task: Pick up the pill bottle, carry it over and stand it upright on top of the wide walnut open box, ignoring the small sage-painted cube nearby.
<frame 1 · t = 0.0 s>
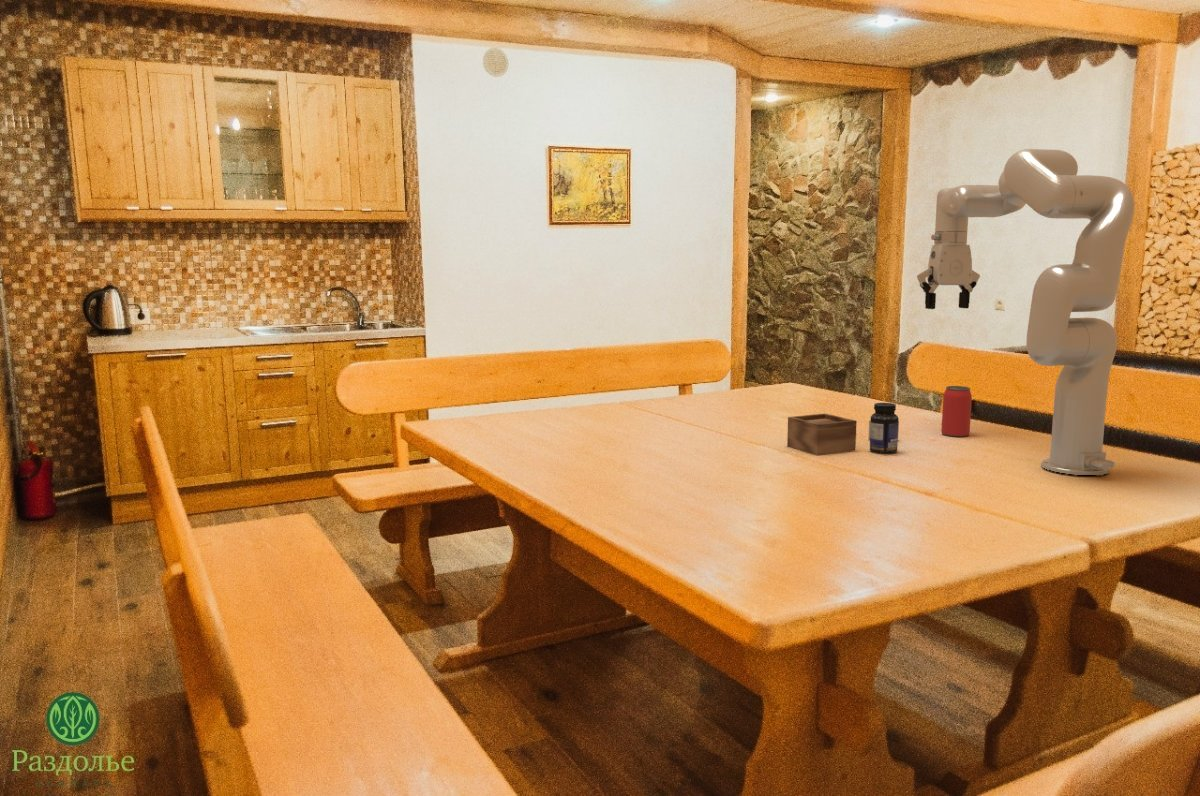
hand: (946, 308, 225), 31 cm above the table, fingers open, 9 cm apart
sage cube: (883, 440, 217), on the table
walnut open box: (820, 448, 209), on the table
beer can: (955, 435, 224), on the table
pill bottle: (883, 452, 205), on the table
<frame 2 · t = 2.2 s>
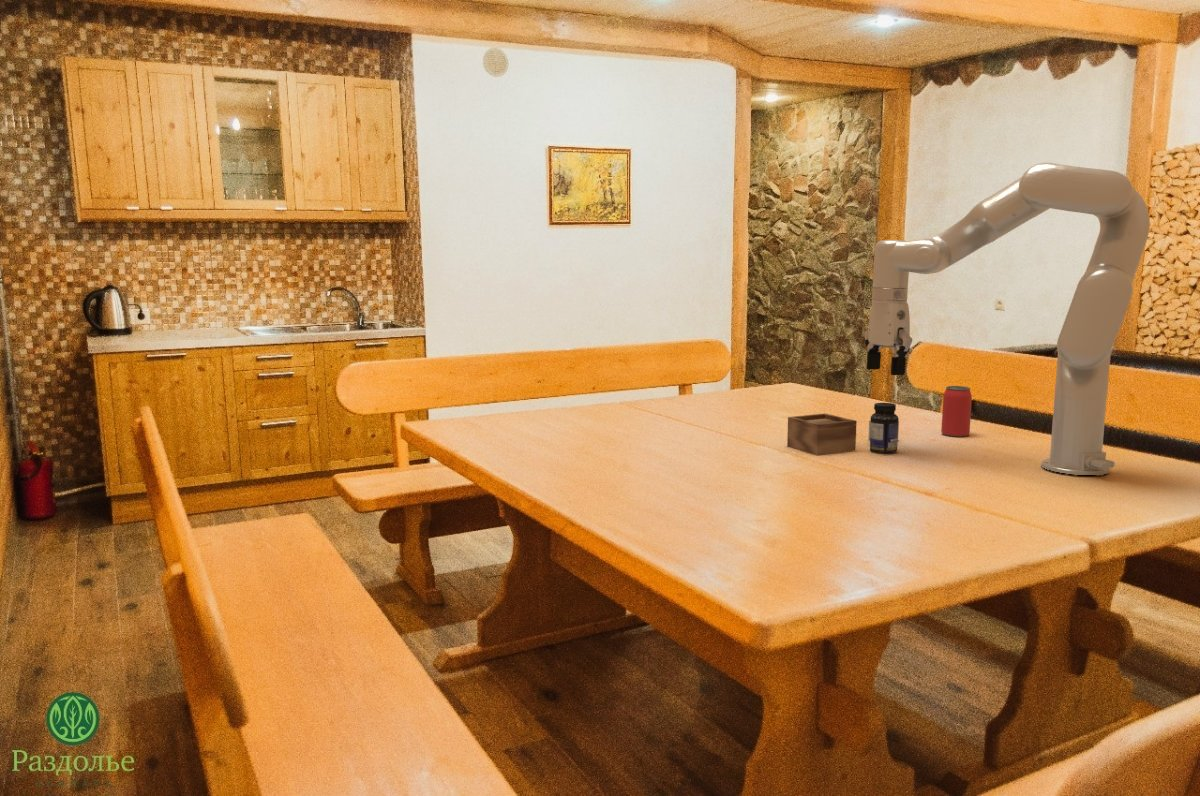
hand: (885, 371, 202), 18 cm above the table, fingers open, 9 cm apart
nothing on the table moved.
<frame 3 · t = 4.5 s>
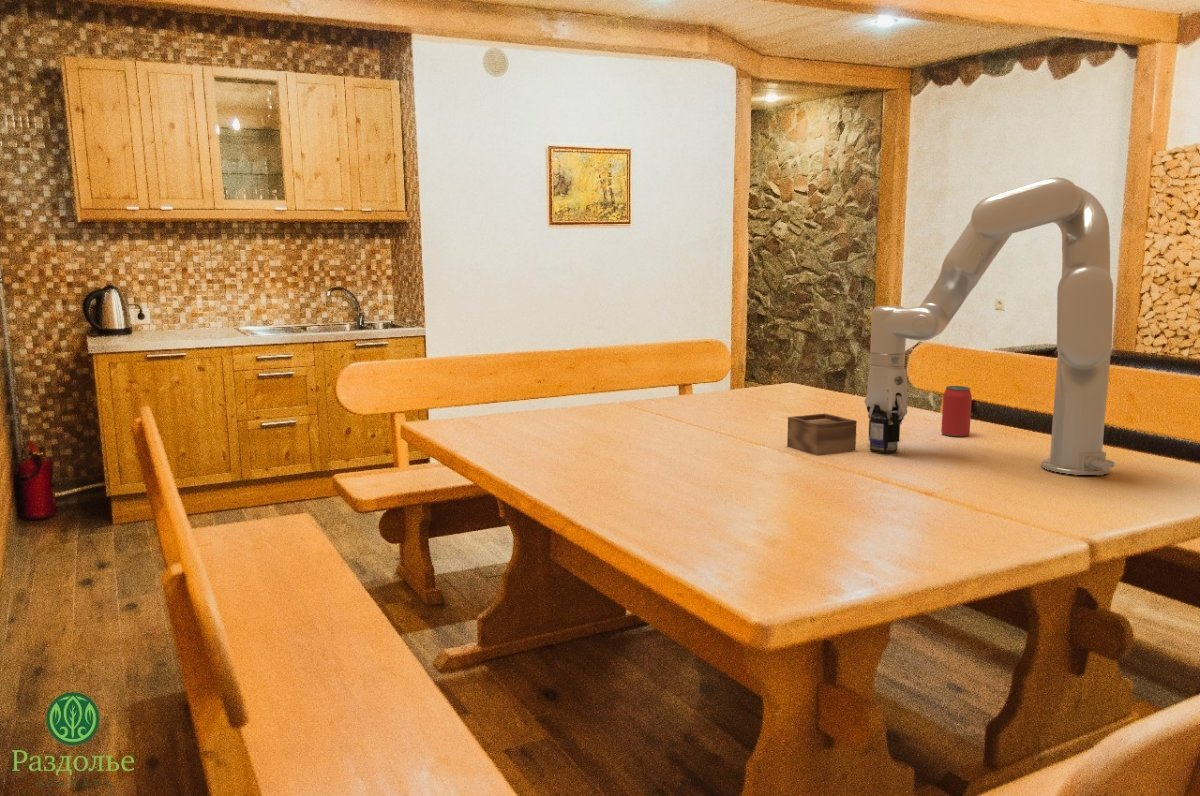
hand: (883, 438, 205), 3 cm above the table, fingers closed on pill bottle, 6 cm apart
pill bottle: (883, 452, 205), on the table, touching gripper
everything else where it was.
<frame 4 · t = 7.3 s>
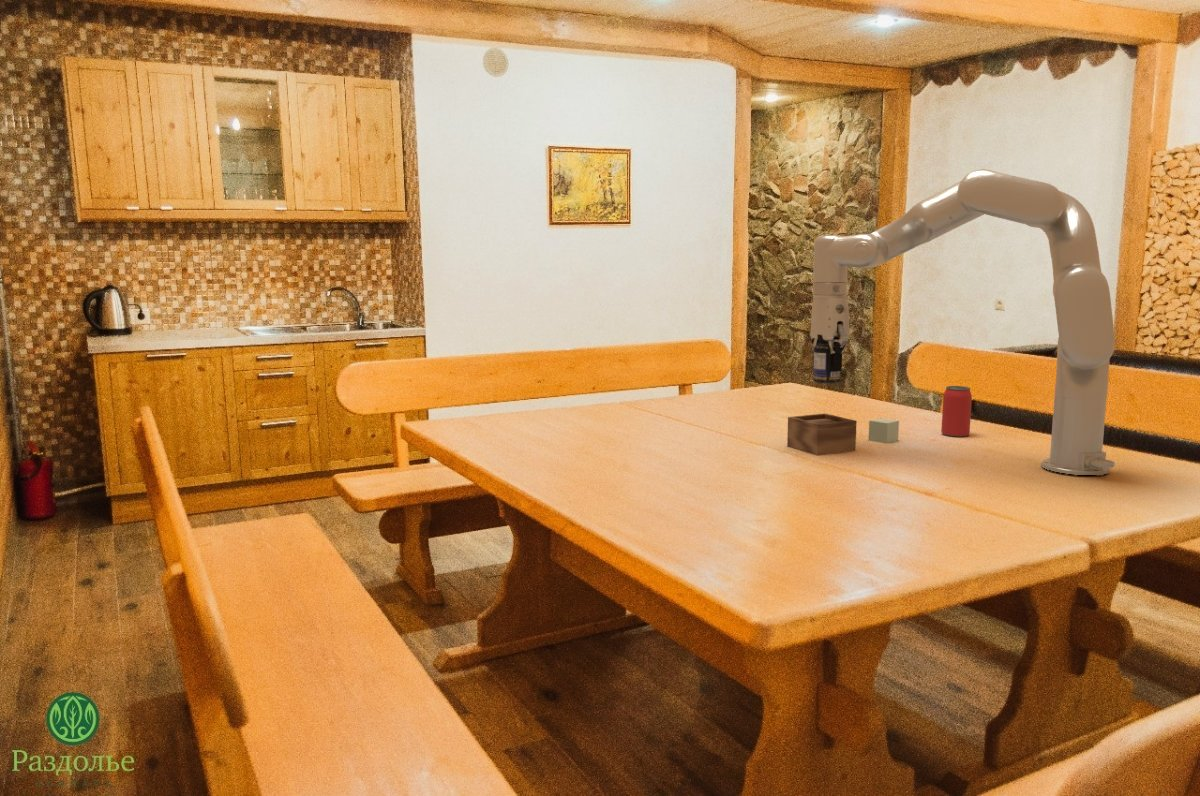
hand: (827, 368, 206), 19 cm above the table, fingers closed on pill bottle, 6 cm apart
pill bottle: (826, 382, 206), point 15 cm above the table, touching gripper
everything else where it was.
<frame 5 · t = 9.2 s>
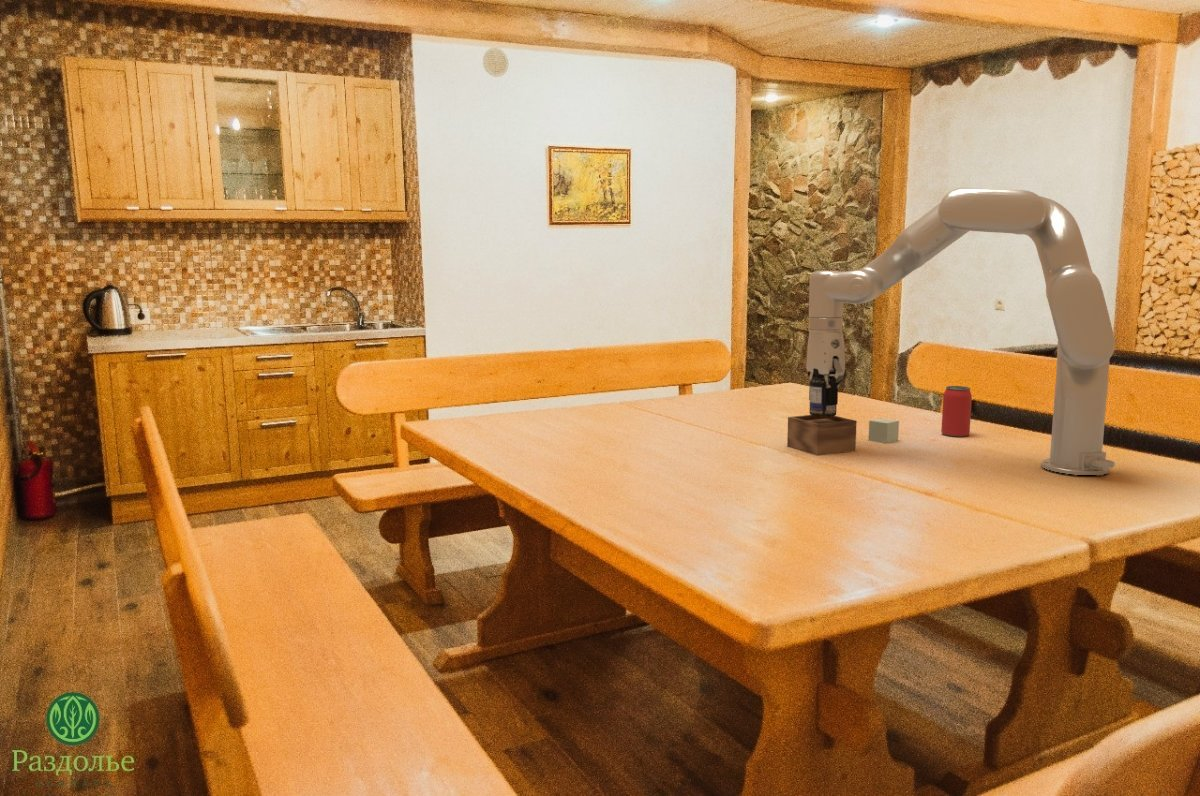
hand: (823, 402, 207), 11 cm above the table, fingers closed on pill bottle, 6 cm apart
pill bottle: (822, 416, 207), point 8 cm above the table, touching gripper
everything else where it was.
when the fingers open (11 cm above the table, at t = 10.6 s): pill bottle drops 2 cm, resting on walnut open box.
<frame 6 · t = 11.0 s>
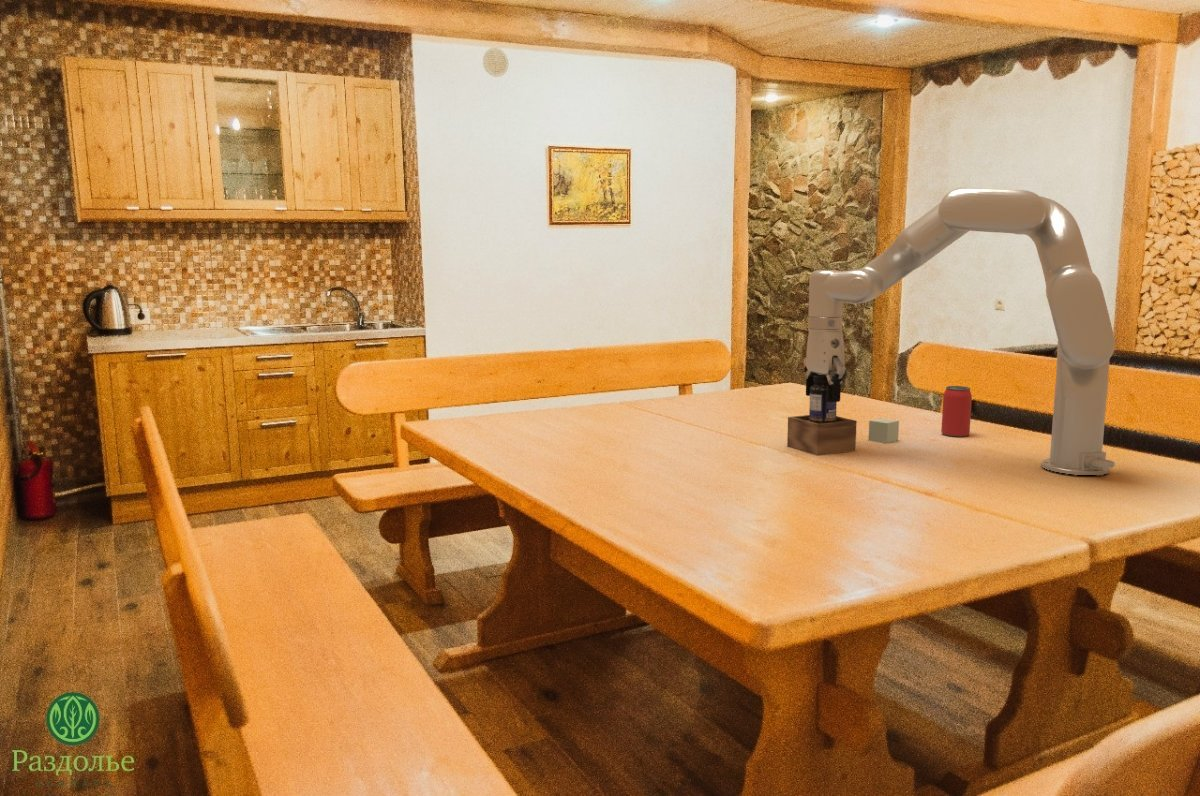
hand: (822, 398, 207), 12 cm above the table, fingers open, 9 cm apart
pill bottle: (822, 423, 208), point 6 cm above the table, touching walnut open box
everything else where it was.
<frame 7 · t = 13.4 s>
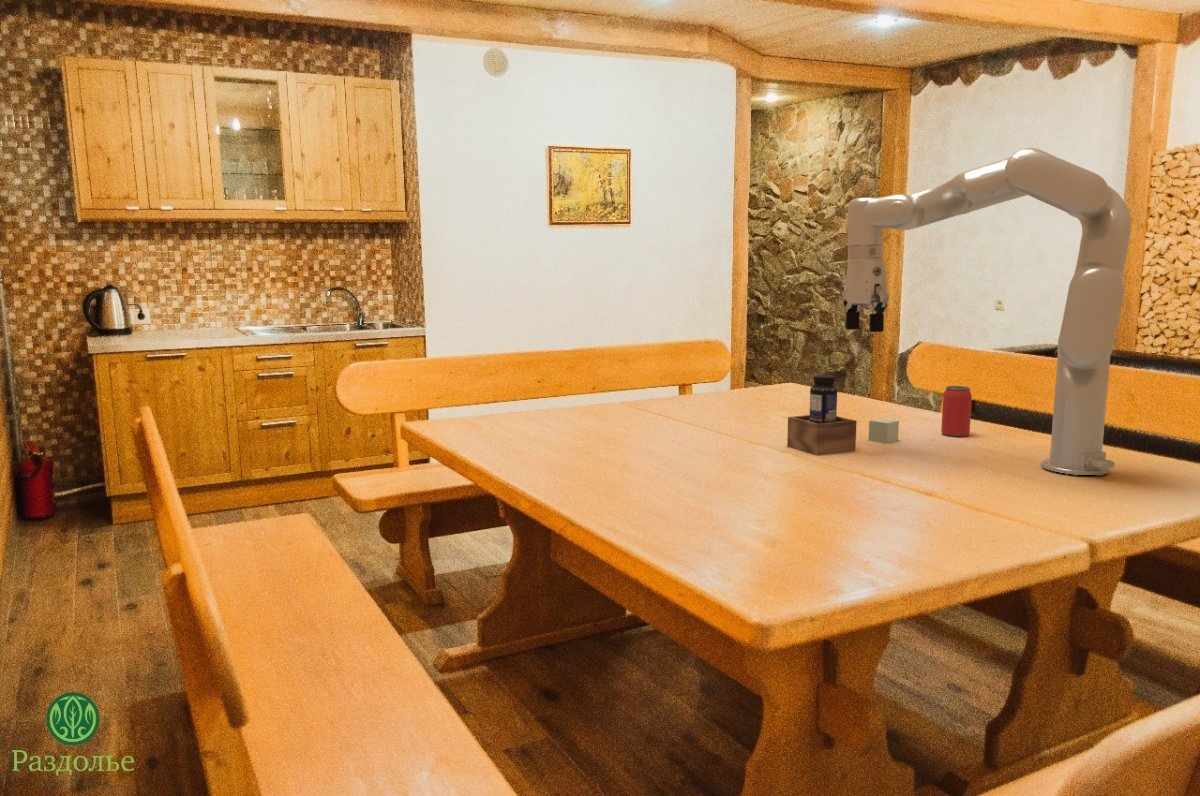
hand: (864, 330, 203), 28 cm above the table, fingers open, 9 cm apart
nothing on the table moved.
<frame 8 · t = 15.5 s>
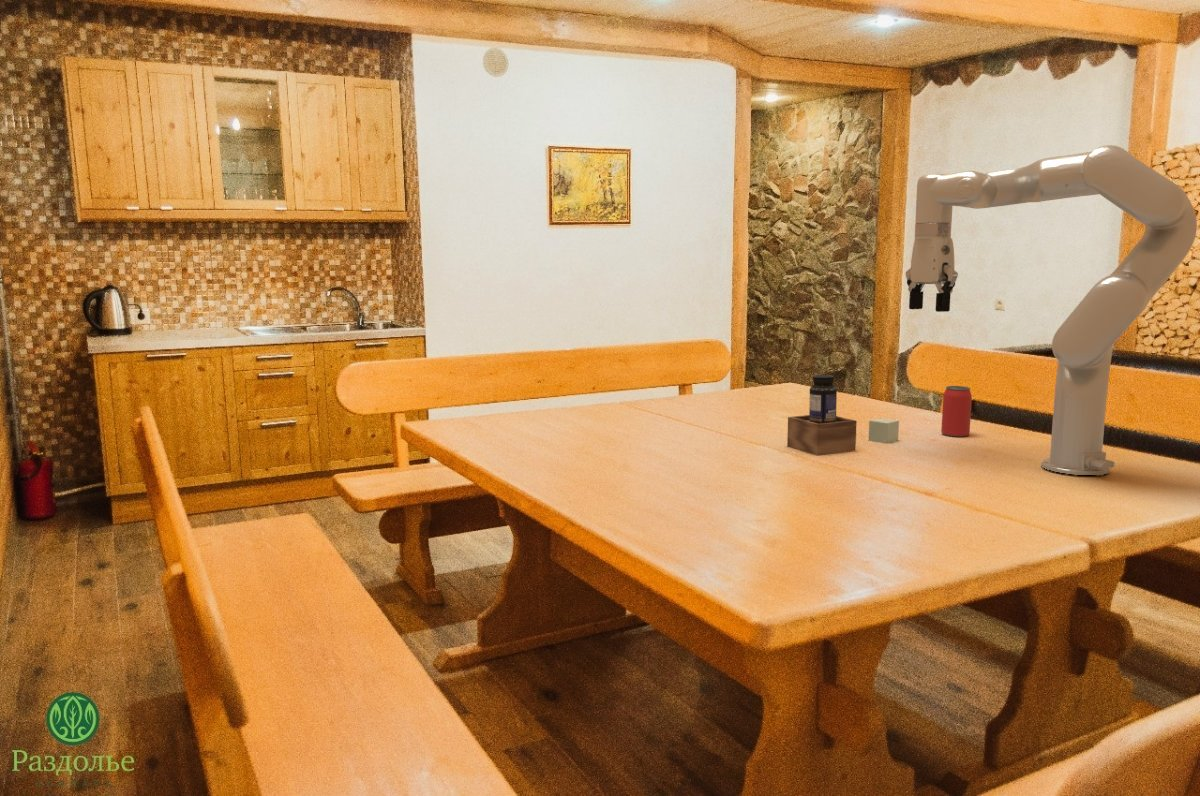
hand: (928, 310, 199), 32 cm above the table, fingers open, 9 cm apart
nothing on the table moved.
at the end: pill bottle inside the target area on the walnut open box (0.1 cm from its centre), point 5.8 cm above the walnut open box's base; pill bottle tilted 1°; the gripper is holding nothing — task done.
